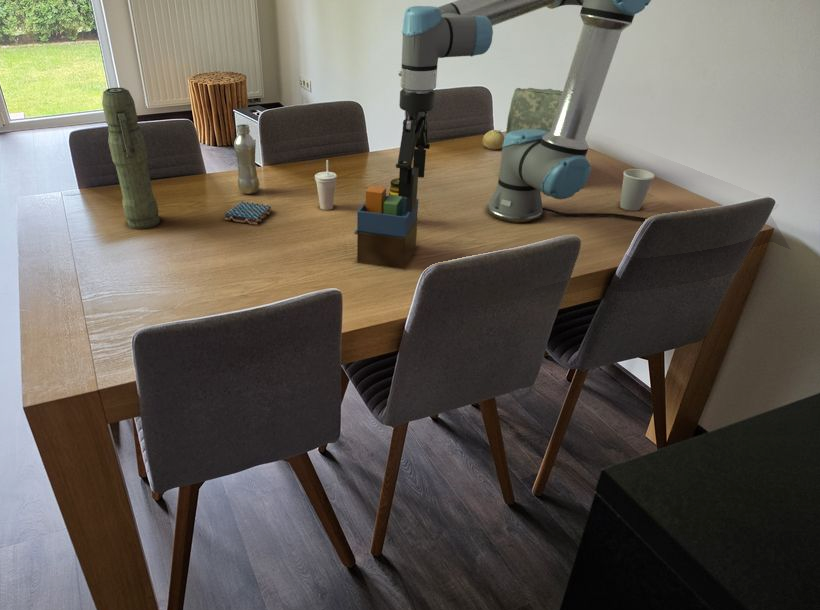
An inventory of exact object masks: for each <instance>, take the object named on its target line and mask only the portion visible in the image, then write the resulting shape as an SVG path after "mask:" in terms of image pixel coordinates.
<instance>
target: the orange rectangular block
mask: <svg viewBox="0 0 820 610" xmlns="http://www.w3.org/2000/svg"><path fill="white" fill-rule="evenodd" d="M386 195H387V187H386V186H379V185H370V186H369V187H367V189H366V190H365V201H366V212H373V213H380V214H384V202H385V201H386Z"/></svg>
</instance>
